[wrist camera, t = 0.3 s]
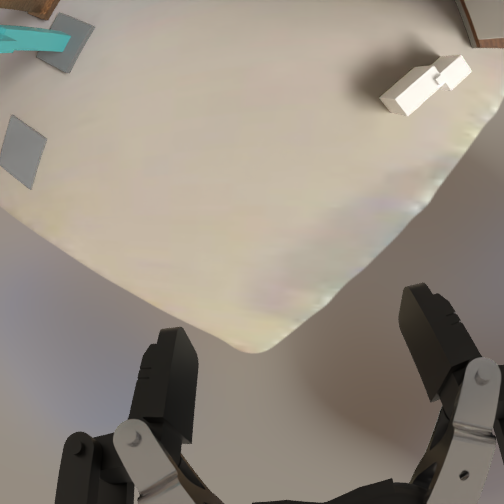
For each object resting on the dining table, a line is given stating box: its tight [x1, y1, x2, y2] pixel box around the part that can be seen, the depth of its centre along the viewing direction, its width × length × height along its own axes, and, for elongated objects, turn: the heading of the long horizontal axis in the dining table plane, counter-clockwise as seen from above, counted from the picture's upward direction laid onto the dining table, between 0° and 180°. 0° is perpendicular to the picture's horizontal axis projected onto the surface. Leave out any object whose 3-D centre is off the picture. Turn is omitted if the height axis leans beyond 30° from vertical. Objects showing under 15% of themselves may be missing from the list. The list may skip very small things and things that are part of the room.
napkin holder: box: [379, 55, 472, 116], centre depth 26 cm, size 15×11×6 cm
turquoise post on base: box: [0, 13, 95, 73], centre depth 16 cm, size 8×7×24 cm
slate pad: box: [0, 115, 47, 190], centre depth 33 cm, size 9×9×1 cm
